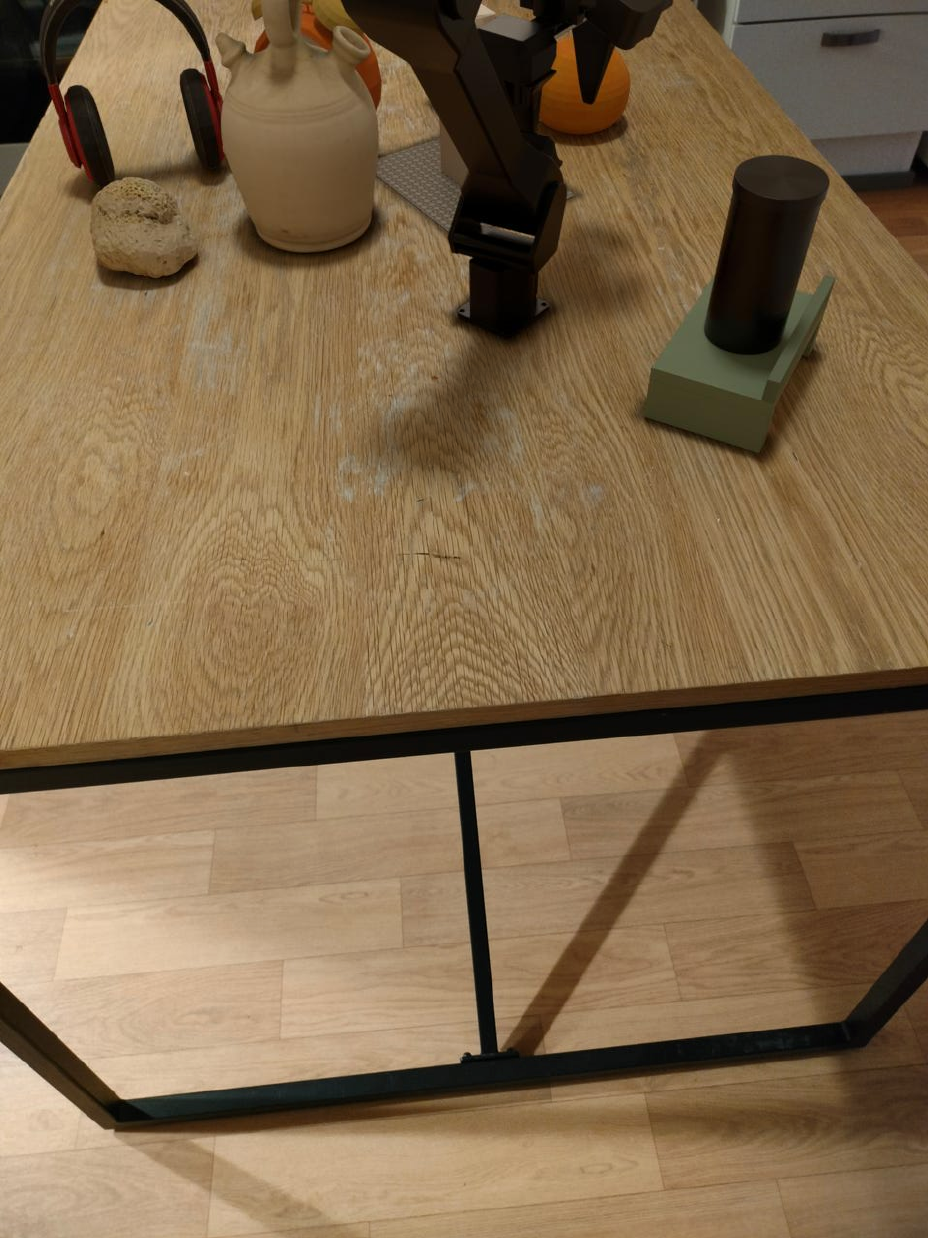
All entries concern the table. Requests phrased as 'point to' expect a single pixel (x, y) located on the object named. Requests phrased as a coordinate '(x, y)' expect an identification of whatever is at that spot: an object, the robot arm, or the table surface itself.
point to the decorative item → (140, 229)
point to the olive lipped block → (730, 374)
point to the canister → (763, 251)
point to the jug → (300, 133)
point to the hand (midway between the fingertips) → (559, 122)
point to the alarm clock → (328, 36)
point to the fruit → (565, 99)
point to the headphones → (82, 114)
